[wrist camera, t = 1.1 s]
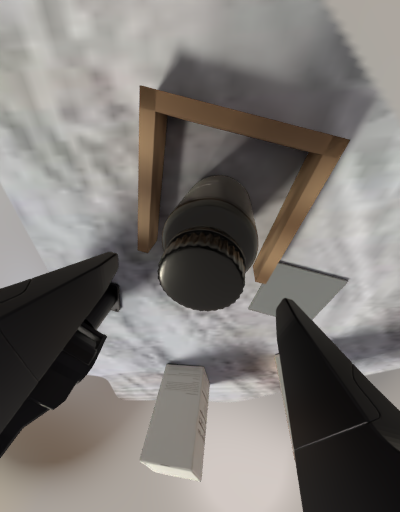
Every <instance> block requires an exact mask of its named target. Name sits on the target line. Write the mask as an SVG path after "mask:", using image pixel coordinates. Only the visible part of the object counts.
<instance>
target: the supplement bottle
mask: <svg viewBox="0 0 400 512" xmlns="http://www.w3.org/2000/svg"><path fill="white" fill-rule="evenodd" d="M162 247H163V251H164V254H163V255H162V257H161V260H160V262H159V265H158V266H159V269H158V271H157V272H158V275H159V276H158V279H159V281H160V285H161V286H162V287H163V290H164V291H165V292H166V293H167V295H168V296H169V297H171V298H172V299H173V300H174V301H176V302H177V303H179V304H180V305H183V306H185V307H187V308H191V309H193V310H199V311H211V310H213V311H216V310H218V309H223V308H225V307H229V306H230V305H231V304H233V303H235V301H236V300H237V299H238V298H239V297H240V294H241V293H242V292H243V288H244V286H245V273H246V272H247V271H248V269H249V268H250V267H251V266H252V264H253V262H254V260H255V258H256V255H257V251H258V234H257V229H256V225H255V220H254V215H253V211H252V206H251V202H250V198H249V195H248V193H247V191H246V190H245V188H244V187H243V186H242V185H241V184H240V183H239V182H238V181H236V180H235V179H233V178H230V177H228V176H223V175H214V176H209V177H206V178H204V179H202V180H201V181H199V182H198V183H197V184H196V185H195V186H194V187H193V188H192V189H191V190H190V191H189V192H188V194H187V195H186V196H185V197H184V198H183V200H182V201H181V202H180V203H179V204H178V206H177V207H176V208H175V209H174V211H173V212H172V213H171V214H170V216H169V217H168V219H167V221H166V223H165V225H164V228H163V232H162Z"/></svg>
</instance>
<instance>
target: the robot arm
mask: <svg viewBox="0 0 400 512" xmlns="http://www.w3.org/2000/svg"><path fill="white" fill-rule="evenodd" d="M118 267H119V263H118V255H117V254H116V253H113V252H107V253H104V254H101V255H98V256H95V257H93V258H90V259H87V260H84V261H81V262H78V263H75V264H72V265H69V266H66V267H63V268H61V269H58V270H55V271H52V272H49V273H46V274H43V275H40V276H37V277H34V278H32V279H28V280H26V281H23V282H20V283H17V284H14V285H11V286H8V287H4V288H1V289H0V458H1V456H2V455H3V454H4V453H5V451H6V450H7V448H8V447H9V446H10V445H11V443H12V442H13V441H14V439H15V438H16V437H17V435H18V434H19V433H20V431H21V430H22V429H23V428H24V427H25V426H27V425H28V424H29V423H31V422H32V421H34V420H35V419H37V418H38V417H40V416H41V415H43V414H44V413H45V412H47V411H48V410H50V409H51V410H54V409H55V408H57V407H58V406H59V405H60V404H61V403H63V402H64V401H65V400H66V399H67V397H68V395H69V394H70V392H71V390H72V389H73V387H74V386H75V385H76V384H78V383H79V382H80V381H81V380H82V379H83V378H84V377H85V376H86V375H87V374H88V372H89V371H90V369H91V368H92V366H93V365H94V363H95V361H96V359H97V357H98V355H99V353H100V350H101V348H102V346H103V344H104V342H105V340H106V338H107V336H106V335H103V334H101V333H100V332H98V331H97V328H98V327H99V326H100V324H101V323H102V321H103V320H104V319H105V317H106V316H107V314H108V313H109V312H110V310H112V311H116V312H119V310H120V297H119V286H118V285H117V284H114V283H110V282H111V280H112V279H113V277H114V275H115V274H116V272H117V270H118ZM276 330H277V343H278V350H279V356H280V363H281V369H282V376H283V382H284V389H285V395H286V402H287V408H288V415H289V421H290V428H291V435H292V441H293V448H294V455H295V462H296V468H297V475H298V481H299V488H300V494H301V501H302V507H303V512H400V411H399V410H398V409H397V408H396V407H395V406H394V405H393V404H392V403H391V402H390V401H389V400H388V399H387V398H386V397H385V396H384V395H383V394H382V393H381V392H380V391H379V390H378V389H377V388H376V387H375V386H374V385H373V384H372V383H371V382H370V381H369V380H368V379H367V378H366V377H365V376H364V375H363V374H362V373H361V372H360V371H359V370H358V369H357V367H356V366H355V365H354V364H352V362H351V361H350V360H349V359H348V358H347V357H346V356H345V355H344V354H343V353H342V352H341V351H340V350H339V348H338V347H337V346H336V345H335V344H334V343H333V342H332V341H331V340H330V339H329V338H328V337H327V336H326V335H325V334H324V333H323V331H322V330H321V329H320V328H319V327H318V326H317V325H316V324H315V323H314V322H313V321H312V320H311V319H310V318H309V317H308V316H307V315H306V313H305V312H304V311H303V310H302V309H301V308H300V307H299V306H298V305H297V304H296V303H295V302H294V301H293V300H292V299H288V298H283V299H282V301H281V302H280V304H279V305H278V306H277V308H276Z"/></svg>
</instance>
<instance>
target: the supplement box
mask: <svg viewBox="0 0 400 512" xmlns="http://www.w3.org/2000/svg"><path fill="white" fill-rule="evenodd" d="M209 388H210V384H209V381H208V378H207V375H206V372H205V369H204V367H201V366H186V365H170V364H167V365H166V367H165V371H164V375H163V378H162V382H161V385H160V389H159V392H158V396H157V399H156V403H155V407H154V410H153V414H152V418H151V421H150V425H149V428H148V432H147V435H146V439H145V442H144V446H143V449H142V453H141V456H140V462H141V463H143V464H145V465H146V466H147V467H149V468H150V469H151V470H152V471H154V472H157V473H162V474H166V475H171V476H176V477H181V478H186V479H191V480H196V481H200V482H201V477H202V468H203V455H204V444H205V433H206V421H207V410H208V399H209Z"/></svg>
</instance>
